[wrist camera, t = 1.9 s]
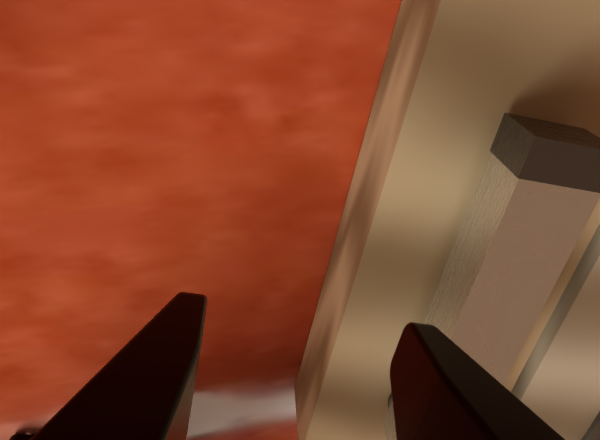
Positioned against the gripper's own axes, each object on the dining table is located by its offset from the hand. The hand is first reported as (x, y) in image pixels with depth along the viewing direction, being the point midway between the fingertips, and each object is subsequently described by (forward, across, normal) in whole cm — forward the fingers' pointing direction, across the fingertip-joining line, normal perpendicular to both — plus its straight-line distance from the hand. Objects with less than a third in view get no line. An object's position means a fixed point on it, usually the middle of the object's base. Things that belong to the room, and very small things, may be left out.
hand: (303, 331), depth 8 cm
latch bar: (+9, -7, +5) cm, 12 cm away
